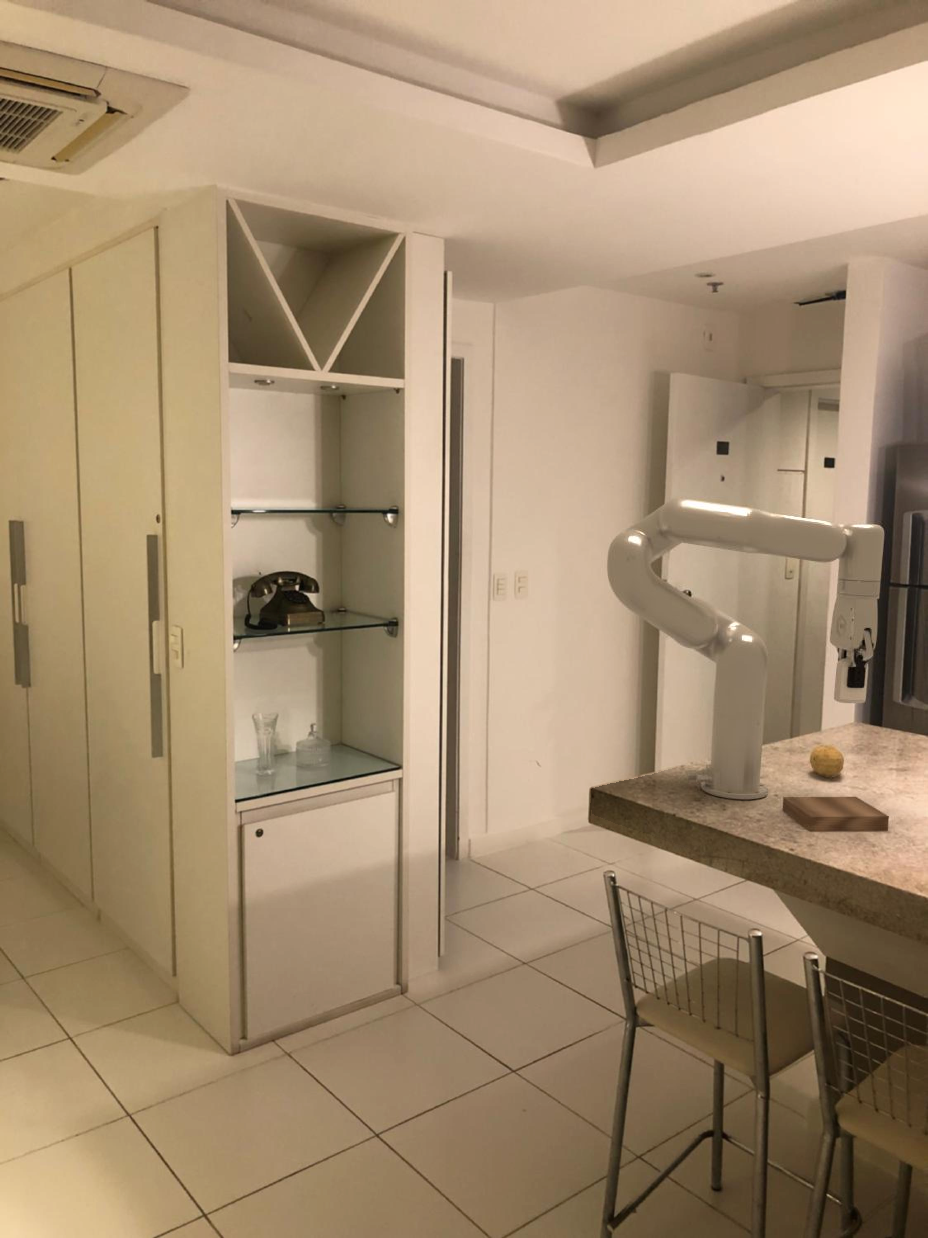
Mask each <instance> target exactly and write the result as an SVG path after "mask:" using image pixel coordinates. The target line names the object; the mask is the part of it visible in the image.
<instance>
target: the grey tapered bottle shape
mask: <svg viewBox="0 0 928 1238" xmlns="http://www.w3.org/2000/svg"><path fill="white" fill-rule="evenodd" d="M856 650H862V649H861V648H858V649H857V648H856ZM858 655H859V654H856V658H857V656H858ZM846 656H847V658H844V659H841V660H839V661H838V660H837V663H836V668H835V680H834V681H835V682H834V692H833V699H834V701H835V702H838V703H843V704H864V703H866V699H867V689H868V688H867V687H868V676H869V664H868V663H867V667H866V673H865V685H864V688H848V687H847V676H848V666H850V667H851V651H848V650H847V655H846Z"/></svg>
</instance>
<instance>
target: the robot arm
mask: <svg viewBox="0 0 928 1238" xmlns="http://www.w3.org/2000/svg"><path fill="white" fill-rule="evenodd" d="M884 541H885V530H884V528H883V527H882V526H881V525H879V524H873V523H847V524H842V523H834V522H832V521H826V520H817V519H811V518H810V519H809V518H804V517H798V516H793V515H786V514H778V513H774V512H773V513H772V512H770V511H765V510H762V509H758V508H753V507H748V506H740V505H733V504H728V503H721V502H713V501H707V500H700V499H693V498H692V499H691V498H686V497H685V498H684V497H677V498H673V499H670V500H668V501H667V502H665V503H664V504H663V505H661V506H659V507H658V508H657V509H656V510H654V511H653V512H651V513H650V514H647V516H645V517H644V518H642V519H641V520H639V521H637V522H636V523H634V524H633V525H631V526H630V527H629V528H626V529H624V530H623V531H622V532H620V533H619V534H618V535H616V536H615V537H614V538H613V539H612V541H611V542H610V545H609V548H608V553H607V563H606V566H607V567H606V570H607V578H608V581H609V582H608V583H609V585H610V588H611V590H612V592H613V594H614V595H615V597H616V598H617V599H618V601H619V602H620V603H621V604H622V605H624V606H625V607H626V608H627V609H628V610H630V611H631V612H632V613H634V614H635V615H637V616H638V617H640V618H641V619H643V620H644V621H645V622H647V623H648V624H650V625H651V626H652V627H654V628H655V629H658V630H659V631H660V632H662V633H664V635H665V634H666V636H669V638H671V639H672V640H674V641H675V642H676V643H677V644H679V645H680V646H682V647H683V648H684V647H685V648H687V649H692V650H695V652H697V653H699V654H700V655H702V656H704V657H705V658H707V659H709V660H710V661H712V662H713V663H715V680H714V692H713V706H712V713H713V714H712V717H713V718H712V727H711V728H712V730H711V731H712V732H711V750H710V751H711V752H710V764H705V768H701V770H696V769H686V770H685V774H684V776H685V780H687V781H695V782H696V783H701V784H700V788H701V789H702V791H704V792H705V793H708V794H710V795H712V796H715V797H719V798H720V797H721V798H723V799H724V798H726V799H733V800H756V799H757V800H758V799H761V798H762V799H763V798H764V797H766V796H767V795H768V789H769V788H768V786H767V785H765V784H763V783H762V782H761V770H762V767H761V766H762V753H763V738H764V737H763V735H764V718H765V702H766V701H765V698H766V688H767V681H768V675H769V667H770V666H769V664H770V661H769V660H770V659H769V658H770V657H769V652H768V648H767V645H766V644H765V642H764V640H763V639H762V638H761V637H760V636H759V635H758V634H756V632H755V631H753V630H752V629H750V628H749V627H748V626H746V625H744V624H743V623H741V622H740V621H738V620H736V619H735V618H733V617H732V616H730V615H728V614H727V613H725V612H724V611H722V610H720V609H719V608H717V607H715V606H713V605H712V604H710V603H709V602H707V601H706V600H704V599H702V598H699V597H695V596H690V595H688V594H686V593H684V592H683V591H681V590H679V589H678V588H676V587H675V586H674V585H672V584H671V583H669V582H667V581H666V580H665V579H663V578H661V577H659V576H658V575H657V574H656V573H655V572H654V570H653V568H652V566H651V565H652V564H653V562H655V561H656V560H658V559H660V558H661V557H663V556H664V555H666V554H667V553H669V552H670V551H672V550H674V549H675V548H676V547H678V546H679V545H681V544H682V543H683V544H688V545H695V546H703V547H707V548H713V549H714V548H715V549H723V550H728V551H733V552H741V553H746V554H758V555H759V554H761V555H771V556H776V557H777V556H778V557H782V558H783V557H785V558H788V559H789V558H790V559H797V560H804V561H809V562H810V561H811V562H816V563H823V564H825V563H831V562H834V561H836V560H837V559H838V568H837V569H838V570H837V572H838V574H837V585H836V598H835V602H834V604H833V605H834V606H833V610H832V617H831V618H832V619H831V624H830V625H831V626H830V634H829V642H830V644H831V645H832V646H833V647H835V648H836V651H837V662H838V661H839V660H841V659H844V658H847V656H846V655H847V650H848V651H851V667H850V666H848V676H847V687H848V688H864V685H865V673H866V667H867V664H868V662H869V661H870V659H871V658H873V657H874V650H875V649H876V645H877V644H876V643H877V637H878V612H879V611H878V600H879V599H880V591H881V579H882V565H883V554H884ZM856 648H857V649H858V648H861V650H856ZM856 654H859V655H858V656H857V658H856Z"/></svg>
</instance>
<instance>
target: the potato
mask: <svg viewBox="0 0 928 1238" xmlns="http://www.w3.org/2000/svg"><path fill="white" fill-rule="evenodd" d="M809 762H810V765H811V769H813V770H814V771H815V772H816V773H817V774H818V775H820V776H822V777H825V778H828V779H830V778H835V777H837V776H838V775H839V774H841V772H842V771H843V769H844V762H845V758H844V756H843V754H842V753H841V751H839V750H838V749H837V748H836V747H834V746H833V745H827V744H825V745H819V746H816V747H815V748H814V749H813V750H812V752H811V753H810V756H809Z"/></svg>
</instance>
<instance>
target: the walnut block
mask: <svg viewBox="0 0 928 1238" xmlns="http://www.w3.org/2000/svg"><path fill="white" fill-rule="evenodd" d="M782 798H783V799H782V811H783V812H784V813H785V814H787V815H788V816H789V817H791V818H792V819H794V820H795V821H796V822H797V823H799V824H801V826H803V827H805V829H807V830H808V831H809V832H853V831H854V832H857V831H858V832H864V831H865V832H866V831H867V832H868V831H869V832H871V831H872V832H873V831H874V832H875V831H876V832H877V831H881V832H882V831H885V832H886V831H889V821H890V820H889V818H890V816H889V815H887V814H885V813H884V812H882V811H881V810H879V809H878V808H876V807H874V806H872V805H871V804H869V803H867V802H866V801H864V800H863V799H860V798H859V797H858V796H783V797H782Z"/></svg>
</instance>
